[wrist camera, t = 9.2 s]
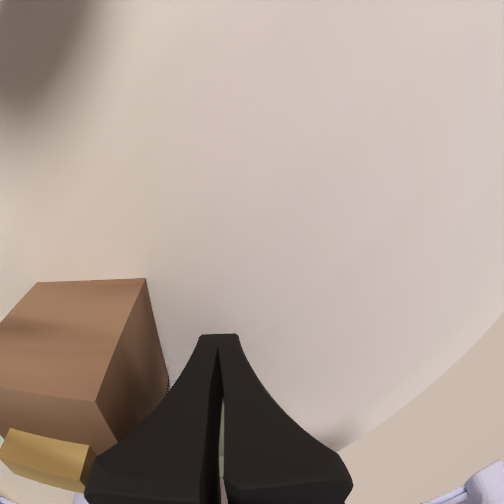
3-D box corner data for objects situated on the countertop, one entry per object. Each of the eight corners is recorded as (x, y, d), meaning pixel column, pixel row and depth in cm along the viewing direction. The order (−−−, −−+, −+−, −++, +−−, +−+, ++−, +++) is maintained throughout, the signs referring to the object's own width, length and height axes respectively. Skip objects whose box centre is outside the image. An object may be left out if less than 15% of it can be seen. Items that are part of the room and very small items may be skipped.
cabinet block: (168, 376, 13) (149, 523, 7) (73, 372, 13) (23, 493, 6) (145, 277, 11) (81, 443, 5) (37, 282, 11) (-60, 402, 4)
